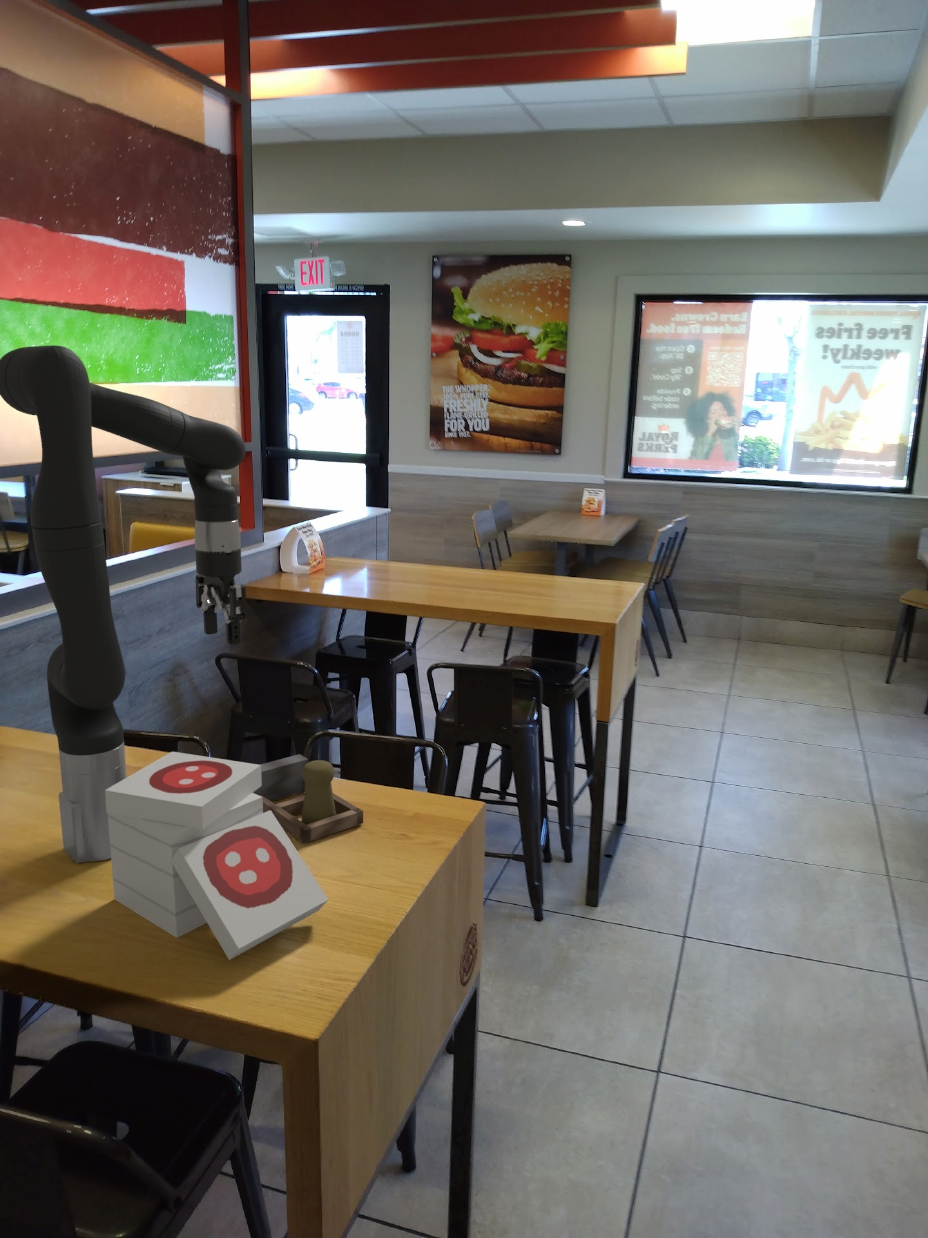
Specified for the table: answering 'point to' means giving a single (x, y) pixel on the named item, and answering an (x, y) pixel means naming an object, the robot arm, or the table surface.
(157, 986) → the table surface
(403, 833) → the table surface
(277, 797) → the divided wooden tray frame
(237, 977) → the table surface
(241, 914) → the pizza boxes
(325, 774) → the cork
